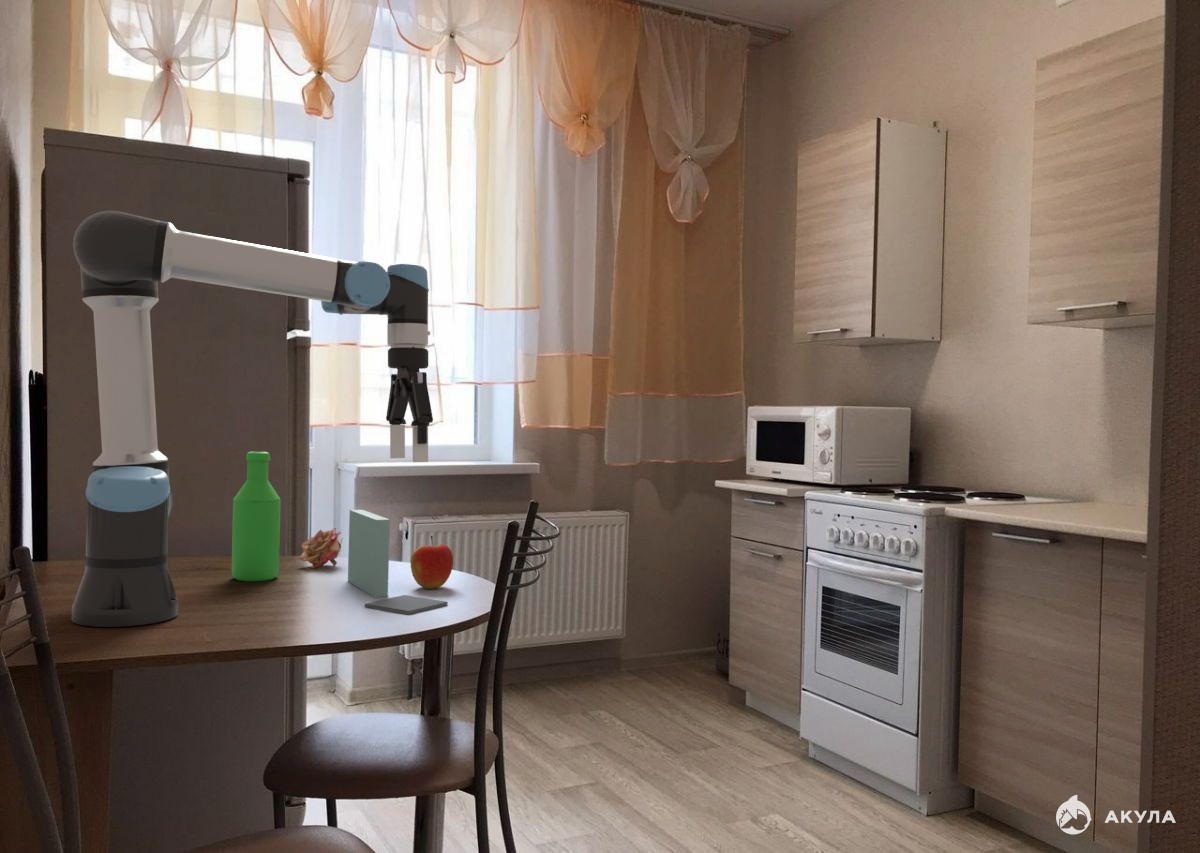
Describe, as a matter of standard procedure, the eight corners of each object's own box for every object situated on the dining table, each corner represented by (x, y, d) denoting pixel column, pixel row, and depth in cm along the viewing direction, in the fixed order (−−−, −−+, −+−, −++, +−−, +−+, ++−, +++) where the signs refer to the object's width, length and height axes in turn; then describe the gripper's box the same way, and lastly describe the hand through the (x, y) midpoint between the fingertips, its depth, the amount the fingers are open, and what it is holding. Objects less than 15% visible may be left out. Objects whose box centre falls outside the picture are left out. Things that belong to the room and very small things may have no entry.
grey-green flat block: (390, 596, 177) (392, 519, 177) (374, 597, 175) (376, 519, 175) (362, 579, 192) (364, 509, 192) (347, 580, 191) (349, 509, 191)
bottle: (286, 575, 195) (289, 451, 194) (266, 583, 186) (270, 453, 186) (243, 573, 196) (246, 450, 195) (222, 581, 187) (226, 451, 187)
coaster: (408, 614, 161) (408, 610, 161) (364, 606, 166) (364, 603, 166) (447, 605, 170) (447, 601, 170) (404, 598, 175) (404, 594, 175)
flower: (334, 553, 215) (314, 525, 212) (361, 549, 209) (341, 520, 206) (307, 582, 208) (286, 554, 205) (334, 579, 202) (313, 550, 199)
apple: (415, 592, 181) (416, 539, 181) (405, 585, 188) (407, 533, 188) (457, 590, 184) (459, 538, 184) (446, 583, 191) (447, 532, 191)
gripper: (450, 344, 173) (450, 462, 174) (406, 351, 195) (407, 456, 196) (409, 343, 170) (410, 464, 170) (369, 350, 192) (370, 457, 192)
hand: (408, 460), depth 183 cm, fingers open, 13 cm apart
